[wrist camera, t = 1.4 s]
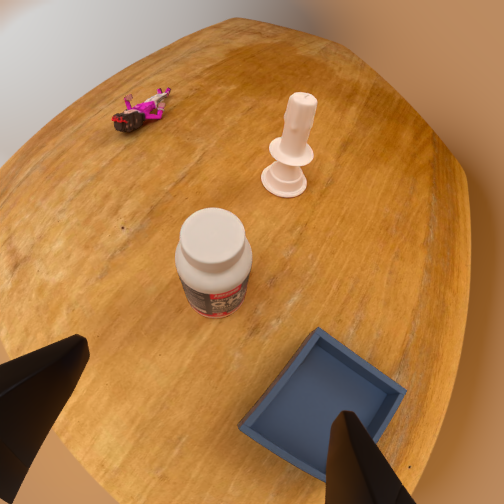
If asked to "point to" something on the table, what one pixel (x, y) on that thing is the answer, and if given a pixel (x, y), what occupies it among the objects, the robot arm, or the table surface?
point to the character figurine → (139, 112)
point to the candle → (291, 148)
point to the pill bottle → (214, 262)
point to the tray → (320, 402)
